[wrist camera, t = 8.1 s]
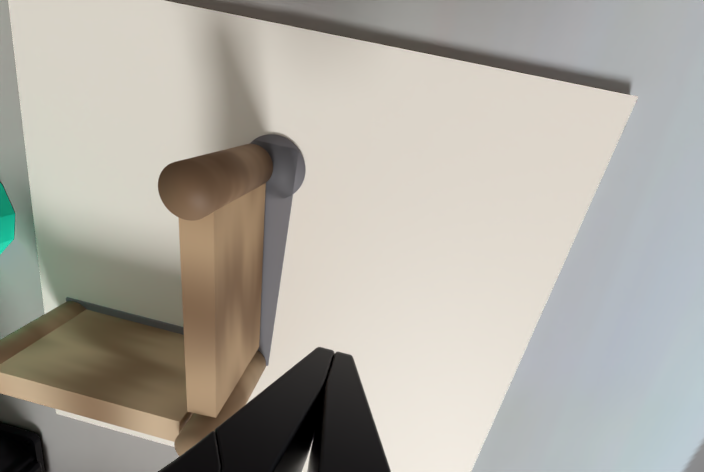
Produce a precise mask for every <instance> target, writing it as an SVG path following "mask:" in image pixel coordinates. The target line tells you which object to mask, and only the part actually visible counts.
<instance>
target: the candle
mask: <svg viewBox="0 0 704 472" xmlns="http://www.w3.org/2000/svg"><path fill="white" fill-rule="evenodd" d="M14 228H15V212H14V210H13V208H12V206H11V203H10V201H9V199H8V197H7V194H6V192H5V190H4V188H3V185H2V184H1V183H0V254H1V253H2V252H3V251H4V250H5V248H6V247H7V246H8V245H9V244H10V243H11V242H12V241H13V240H14Z"/></svg>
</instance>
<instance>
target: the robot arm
mask: <svg viewBox="0 0 704 472" xmlns="http://www.w3.org/2000/svg"><path fill="white" fill-rule="evenodd" d="M312 441H313V442H312ZM311 444H312V447H311ZM310 448H311V451H310ZM309 451H310V457H309V463H308V470H307V472H391V470H390V467H389V464H388V461H387V458H386V455H385V452H384V449H383V446H382V443H381V440H380V437H379V434H378V431H377V428H376V425H375V422H374V419H373V416H372V413H371V410H370V407H369V404H368V401H367V398H366V395H365V392H364V388H363V385H362V382H361V379H360V376H359V373H358V370H357V367H356V364H355V361H354V358H353V356H352V355H350V354H346V353H342V352H338V351H337V352H336V353H335V354H334V351H333V350H331V349H327V348H323V347H317V348H316V349H314V350H313V351H312V352H311V353H309V354H308V355H307V356H306V357H304V358H303V359H302V360H301V361H299V362H298V363H297V364H296V365H294V366H293V367H292V368H291V369H289V370H288V371H287V372H286V373H284V374H283V375H282V376H281V377H279V378H278V379H277V380H276V381H274V382H273V383H272V384H271V385H269V386H268V387H267V388H266V389H264V390H263V391H262V392H261V393H259V394H258V395H257V396H256V397H254V398H253V399H252V400H251V401H249V402H248V403H247V404H246V405H244V406H243V407H242V408H241V409H239V410H238V411H237V412H236V413H234V414H233V415H232V416H231V417H229V418H228V419H227V420H226V421H224V422H223V423H222V424H221V425H219V426H218V427H217V428H216V429H215V432H214V431H212V432H210V433H209V434H208V435H207V436H205V437H204V438H203V439H202V440H200V441H199V442H198V443H197V444H195V445H194V446H193V447H191V448H190V449H189V450H187V451H186V452H185V453H183V454H182V455H181V456H180V457H178V458H177V459H176V460H174V461H173V462H171V463H170V464H169V465H167V466H166V467H164V468H163V469H161V470H160V471H158V472H302V470H303V467H304V464H305V462H306V459H307V457H308V454H309ZM0 472H45V469H44V462H43V455H42V448H41V441H40V437H39V436H38V435H37V434H35V433H33V432H30V431H26V430H23V429H19V428H16V427H12V426H9V425H5V424H2V423H0Z"/></svg>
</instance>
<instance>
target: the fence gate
mask: <svg viewBox="0 0 704 472" xmlns="http://www.w3.org/2000/svg"><path fill="white" fill-rule="evenodd" d="M272 173H273V162H272V159H271V157H270V155H269V154H268V152H267V151H266V150H265V149H264V148H262V147H261V146H259V145H256V144H246V145H241V146H237V147H233V148H229V149H225V150H221V151H217V152H213V153H209V154H205V155H201V156H197V157H193V158H188V159H184V160H180V161H176V162H173V163H170V164H169V165H167V166H166V167H165V168H164V169H163V170H162V172H161V174H160V176H159V179H158V192H159V195H160V198H161V200H162V202H163V204H164V205H165V207H166V208H167V209H168V210H169V211H170V212H171V213H172V214H174V215H175V216H177V217H178V218H179V240H180V262H181V284H182V306H183V327H184V349H185V371H186V393H187V412H191V413H196V414H200V415H205V416H210V417H215V418H216V417H217V415H218V414H219V412H220V411H221V409H222V407H223V406H224V404H225V402H226V401H227V399H228V397H229V396H230V394H231V392H232V391H233V389H234V388H235V386H236V384H237V383H238V381H239V379H240V378H241V376H242V374H243V373H244V371H245V369H246V368H247V366H248V364H249V363H250V361H251V360H252V358H253V356H254V355H255V353H256V351H257V350H258V348H259V342H260V316H261V291H262V265H263V239H264V214H265V188H266V182H267V181H268V180H269V179H270V178H271V176H272Z"/></svg>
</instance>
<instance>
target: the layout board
mask: <svg viewBox="0 0 704 472" xmlns="http://www.w3.org/2000/svg"><path fill="white" fill-rule="evenodd" d="M8 3H9V12H10V21H11V29H12V38H13V46H14V55H15V64H16V72H17V81H18V89H19V98H20V107H21V115H22V124H23V132H24V141H25V150H26V158H27V167H28V175H29V184H30V192H31V201H32V210H33V218H34V227H35V235H36V244H37V253H38V261H39V270H40V278H41V287H42V296H43V304H44V313H45V314H46V313H48V312H49V311H51V310H53V309H54V308H56V307H58V306H60V305H61V304H63V303H65V302H67V301H73V302H77V303H79V304H81V305H82V306H83V307H85V308H86V309H87V310H90V311H94V312H98V313H102V314H106V315H110V316H113V317H117V318H121V319H125V320H129V321H133V322H136V323H140V324H144V325H148V326H152V327H156V328H159V329H163V330H167V331H171V332H175V333H179V334H182V335H184V327H183V306H182V284H181V262H180V240H179V218H178V217H177V216H175V215H174V214H172V213H171V212H170V211H169V210H168V209H167V208H166V207H165V205H164V204H163V202H162V200H161V198H160V195H159V192H158V179H159V176H160V174H161V172H162V170H163V169H164V168H165V167H166V166H167V165H169V164H170V163H173V162H176V161H180V160H184V159H188V158H193V157H197V156H201V155H205V154H209V153H213V152H217V151H221V150H225V149H229V148H233V147H237V146H241V145H246V144H256V145H259V146H261V147H262V148H264V149H265V150H266V151H267V152H268V154H269V155H270V157H271V159H272V162H273V173H272V176H271V178H270V179H269V180H268V181H267V182H266V188H265V214H264V239H263V265H262V291H261V316H260V342H259V348H258V351H259V352H260V353H261V354H262V355H263V356H264V358H265V360H266V368H265V370H264V372H263V374H262V375H261V377H260V379H259V381H258V383H257V385H256V387H255V388H254V390H253V392H252V394H251V396H250V398H249V400H248V402H249V401H251V400H252V399H253V398H254V397H256V396H257V395H258V394H259V393H261V392H262V391H263V390H264V389H266V388H267V387H268V386H269V385H271V384H272V383H273V382H274V381H276V380H277V379H278V378H279V377H281V376H282V375H283V374H284V373H286V372H287V371H288V370H289V369H291V368H292V367H293V366H294V365H296V364H297V363H298V362H299V361H301V360H302V359H303V358H304V357H306V356H307V355H308V354H309V353H311V352H312V351H313V350H314V349H316V348H317V347H323V348H327V349H331V350H333V351H334V354H335V353H336V352H337V351H338V352H342V353H346V354H350V355H352V356H353V358H354V361H355V364H356V367H357V370H358V373H359V376H360V379H361V382H362V385H363V388H364V392H365V395H366V398H367V401H368V404H369V407H370V410H371V413H372V416H373V419H374V422H375V425H376V428H377V431H378V434H379V437H380V440H381V443H382V446H383V449H384V452H385V455H386V458H387V461H388V464H389V467H390V470H391V472H471V471H472V469H473V466H474V464H475V462H476V460H477V457H478V455H479V453H480V451H481V448H482V446H483V444H484V442H485V439H486V437H487V435H488V433H489V430H490V428H491V426H492V424H493V421H494V419H495V417H496V415H497V412H498V410H499V408H500V406H501V403H502V401H503V399H504V397H505V395H506V392H507V390H508V388H509V386H510V383H511V381H512V379H513V377H514V374H515V372H516V370H517V368H518V365H519V363H520V361H521V359H522V356H523V354H524V352H525V350H526V347H527V345H528V343H529V341H530V338H531V336H532V334H533V332H534V329H535V327H536V325H537V323H538V320H539V318H540V316H541V314H542V311H543V309H544V307H545V305H546V302H547V300H548V298H549V296H550V293H551V291H552V289H553V287H554V285H555V282H556V280H557V278H558V276H559V273H560V271H561V269H562V267H563V264H564V262H565V260H566V258H567V255H568V253H569V251H570V249H571V246H572V244H573V242H574V240H575V237H576V235H577V233H578V231H579V228H580V226H581V224H582V222H583V219H584V217H585V215H586V213H587V210H588V208H589V206H590V204H591V201H592V199H593V197H594V195H595V192H596V190H597V188H598V186H599V184H600V181H601V179H602V177H603V175H604V172H605V170H606V168H607V166H608V163H609V161H610V159H611V157H612V154H613V152H614V150H615V148H616V145H617V143H618V141H619V139H620V136H621V134H622V132H623V130H624V127H625V125H626V123H627V121H628V118H629V116H630V114H631V112H632V109H633V107H634V105H635V103H636V100H637V98H638V97H637V96H632V95H628V94H623V93H618V92H613V91H608V90H603V89H598V88H593V87H588V86H583V85H578V84H573V83H568V82H564V81H559V80H554V79H549V78H544V77H539V76H534V75H529V74H524V73H519V72H514V71H509V70H504V69H500V68H495V67H490V66H485V65H480V64H475V63H470V62H465V61H460V60H455V59H450V58H445V57H441V56H436V55H431V54H426V53H421V52H416V51H411V50H406V49H401V48H396V47H391V46H386V45H381V44H377V43H372V42H367V41H362V40H357V39H352V38H347V37H342V36H337V35H332V34H327V33H322V32H317V31H313V30H308V29H303V28H298V27H293V26H288V25H283V24H278V23H273V22H268V21H263V20H258V19H254V18H249V17H244V16H239V15H234V14H229V13H224V12H219V11H214V10H209V9H204V8H199V7H194V6H190V5H185V4H180V3H175V2H170V1H165V0H8ZM248 402H247V403H248ZM247 403H246V404H247ZM56 414H59V415H62V416H66V417H70V418H73V419H77V420H80V421H84V422H87V423H91V424H94V425H98V426H102V427H105V428H109V429H112V430H116V431H119V432H123V433H127V434H130V435H134V436H137V437H141V438H144V439H148V440H151V441H155V442H159V443H162V444H166V445H169V446H173V447H175V446H174V443H175V442H173V441H169V440H166V439H162V438H159V437H155V436H151V435H148V434H144V433H141V432H137V431H134V430H130V429H126V428H123V427H119V426H116V425H112V424H109V423H105V422H101V421H98V420H94V419H91V418H87V417H84V416H80V415H76V414H73V413H69V412H66V411H62V410H59V409H56ZM312 442H313V441H312ZM311 447H312V444H311ZM310 451H311V448H310ZM310 451H309V454H308V457H307V459H306V462H305V464H304V467H303V470H302V472H307V470H308V463H309V457H310Z"/></svg>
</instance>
